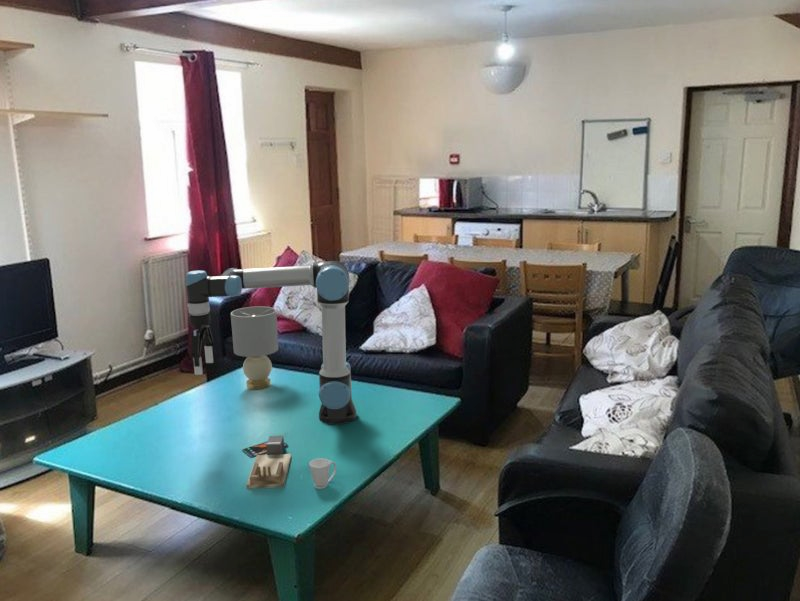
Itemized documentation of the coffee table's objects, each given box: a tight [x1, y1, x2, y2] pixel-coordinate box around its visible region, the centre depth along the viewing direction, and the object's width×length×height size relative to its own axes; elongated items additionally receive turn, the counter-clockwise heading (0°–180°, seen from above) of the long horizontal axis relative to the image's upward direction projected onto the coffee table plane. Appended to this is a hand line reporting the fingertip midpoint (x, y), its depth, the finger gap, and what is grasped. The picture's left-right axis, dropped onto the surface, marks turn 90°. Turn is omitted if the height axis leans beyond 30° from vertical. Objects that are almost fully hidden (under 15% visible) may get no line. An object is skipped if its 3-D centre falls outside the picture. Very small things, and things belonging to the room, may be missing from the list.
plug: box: [266, 435, 285, 455], centre depth 249 cm, size 5×8×5 cm, turn 2°
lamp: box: [230, 306, 279, 391], centre depth 315 cm, size 20×20×35 cm
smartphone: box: [241, 440, 289, 459], centre depth 253 cm, size 8×1×15 cm
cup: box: [308, 457, 337, 490], centre depth 225 cm, size 7×10×8 cm
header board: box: [246, 453, 292, 489], centre depth 234 cm, size 12×22×7 cm, turn 3°
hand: (204, 368), depth 259 cm, fingers open, 13 cm apart
